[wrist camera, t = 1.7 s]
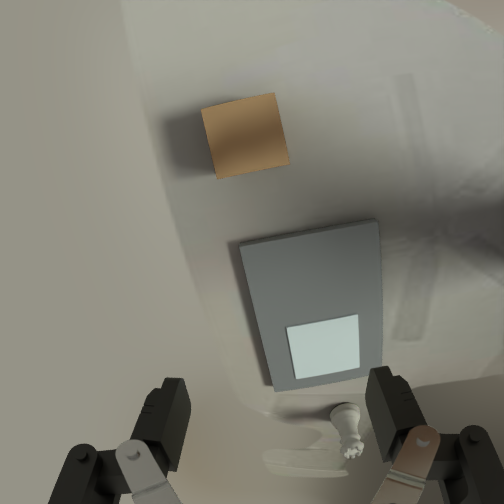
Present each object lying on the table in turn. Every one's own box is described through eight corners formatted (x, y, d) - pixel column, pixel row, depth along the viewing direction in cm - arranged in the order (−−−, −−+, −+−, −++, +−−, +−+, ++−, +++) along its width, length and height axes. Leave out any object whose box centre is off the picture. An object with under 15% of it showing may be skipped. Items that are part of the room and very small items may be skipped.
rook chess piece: (327, 421, 41) (334, 464, 34) (330, 403, 40) (338, 447, 32) (356, 418, 41) (366, 459, 34) (361, 399, 40) (372, 442, 32)
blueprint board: (240, 242, 32) (238, 247, 31) (374, 218, 31) (378, 222, 29) (274, 386, 39) (274, 393, 38) (379, 366, 37) (381, 373, 36)
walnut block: (211, 113, 28) (200, 109, 23) (273, 100, 27) (274, 92, 23) (225, 172, 30) (217, 179, 25) (286, 160, 29) (290, 164, 25)
